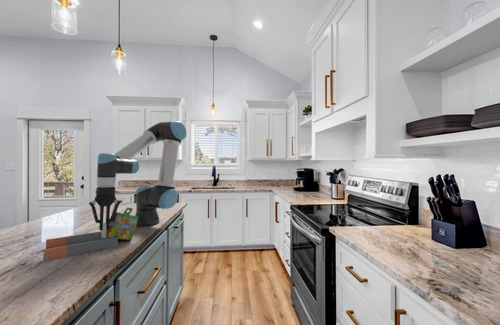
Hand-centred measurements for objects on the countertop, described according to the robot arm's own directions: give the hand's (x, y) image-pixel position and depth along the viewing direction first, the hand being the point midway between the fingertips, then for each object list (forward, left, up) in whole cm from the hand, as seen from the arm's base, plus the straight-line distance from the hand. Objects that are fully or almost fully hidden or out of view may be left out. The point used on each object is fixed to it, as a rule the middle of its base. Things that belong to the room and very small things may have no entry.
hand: (103, 237), depth 109 cm
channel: (+8, 0, -3) cm, 9 cm away
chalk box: (-6, 0, -2) cm, 6 cm away
